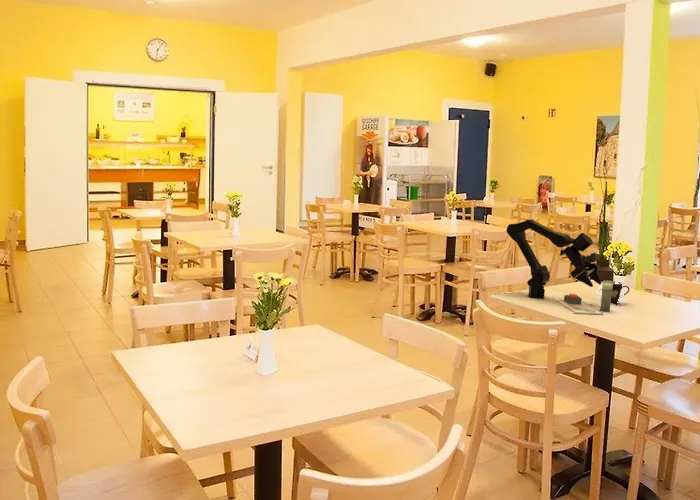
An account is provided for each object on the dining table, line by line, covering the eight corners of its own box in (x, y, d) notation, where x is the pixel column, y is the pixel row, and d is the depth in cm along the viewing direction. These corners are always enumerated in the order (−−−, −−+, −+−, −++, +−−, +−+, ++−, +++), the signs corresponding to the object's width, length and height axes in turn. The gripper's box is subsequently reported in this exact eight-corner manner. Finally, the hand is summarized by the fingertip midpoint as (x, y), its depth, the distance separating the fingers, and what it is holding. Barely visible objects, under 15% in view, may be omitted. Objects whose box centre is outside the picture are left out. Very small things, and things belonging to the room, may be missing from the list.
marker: (602, 313, 316) (605, 284, 314) (598, 310, 320) (601, 282, 318) (611, 313, 316) (614, 284, 314) (607, 311, 320) (610, 282, 318)
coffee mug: (599, 303, 336) (601, 282, 335) (602, 300, 344) (604, 279, 342) (625, 307, 331) (628, 286, 329) (628, 303, 338) (630, 283, 337)
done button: (570, 299, 329) (570, 295, 329) (567, 297, 332) (568, 293, 332) (578, 299, 329) (578, 295, 329) (575, 298, 333) (575, 293, 332)
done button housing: (568, 304, 328) (569, 297, 328) (563, 301, 334) (564, 295, 333) (581, 304, 328) (581, 298, 328) (576, 301, 334) (576, 295, 334)
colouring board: (574, 314, 312) (574, 312, 311) (556, 302, 334) (556, 300, 334) (603, 315, 313) (603, 313, 312) (582, 303, 335) (583, 301, 335)
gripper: (579, 248, 314) (601, 277, 308) (597, 245, 328) (618, 272, 322) (561, 263, 320) (582, 291, 314) (579, 259, 334) (600, 286, 328)
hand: (596, 285), depth 320 cm, fingers open, 9 cm apart
